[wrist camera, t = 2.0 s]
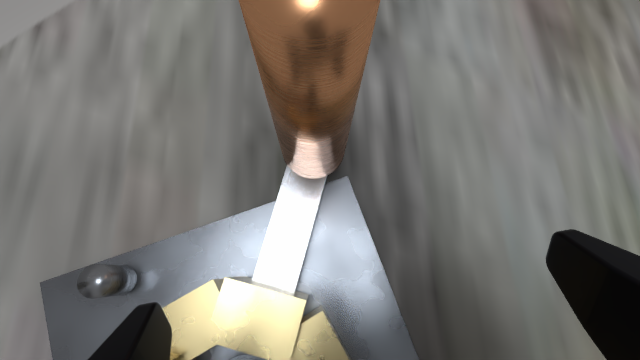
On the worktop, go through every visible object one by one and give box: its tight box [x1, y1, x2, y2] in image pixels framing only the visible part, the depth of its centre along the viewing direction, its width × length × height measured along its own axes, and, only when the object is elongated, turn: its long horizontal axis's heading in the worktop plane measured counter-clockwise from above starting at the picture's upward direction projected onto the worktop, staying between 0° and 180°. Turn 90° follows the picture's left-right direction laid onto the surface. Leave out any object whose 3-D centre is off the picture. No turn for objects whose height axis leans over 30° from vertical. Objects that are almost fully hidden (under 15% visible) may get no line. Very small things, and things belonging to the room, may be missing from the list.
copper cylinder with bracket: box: [162, 0, 380, 360], centre depth 13 cm, size 20×11×14 cm, turn 165°
